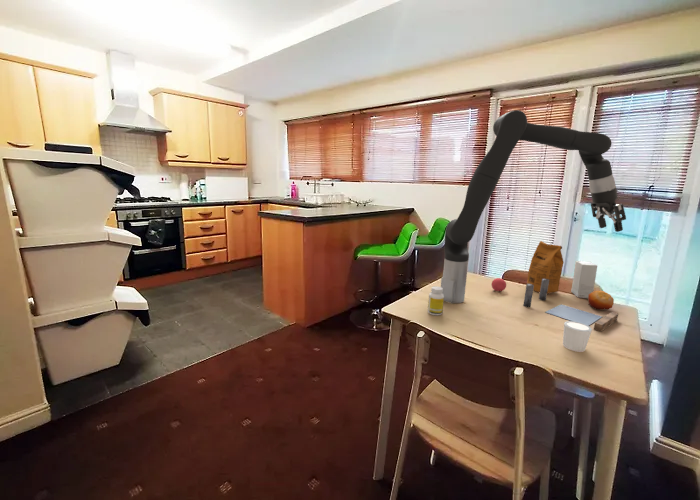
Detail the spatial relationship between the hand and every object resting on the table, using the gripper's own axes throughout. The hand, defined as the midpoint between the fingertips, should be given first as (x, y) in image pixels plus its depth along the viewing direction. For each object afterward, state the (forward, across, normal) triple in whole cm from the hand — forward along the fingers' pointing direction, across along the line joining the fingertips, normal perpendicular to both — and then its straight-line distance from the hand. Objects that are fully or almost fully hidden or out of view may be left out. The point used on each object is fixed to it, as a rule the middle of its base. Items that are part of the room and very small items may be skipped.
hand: (610, 229), depth 123 cm
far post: (+23, -5, -28) cm, 37 cm away
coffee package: (+25, -17, -23) cm, 38 cm away
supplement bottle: (+6, +15, -74) cm, 75 cm away
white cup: (+19, +35, -38) cm, 55 cm away
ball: (+14, -13, -42) cm, 46 cm away
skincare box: (+30, -12, -10) cm, 34 cm away
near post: (+19, +4, -38) cm, 42 cm away
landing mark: (+24, +10, -25) cm, 36 cm away
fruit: (+30, +2, -12) cm, 32 cm away
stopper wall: (+26, +18, -19) cm, 37 cm away
